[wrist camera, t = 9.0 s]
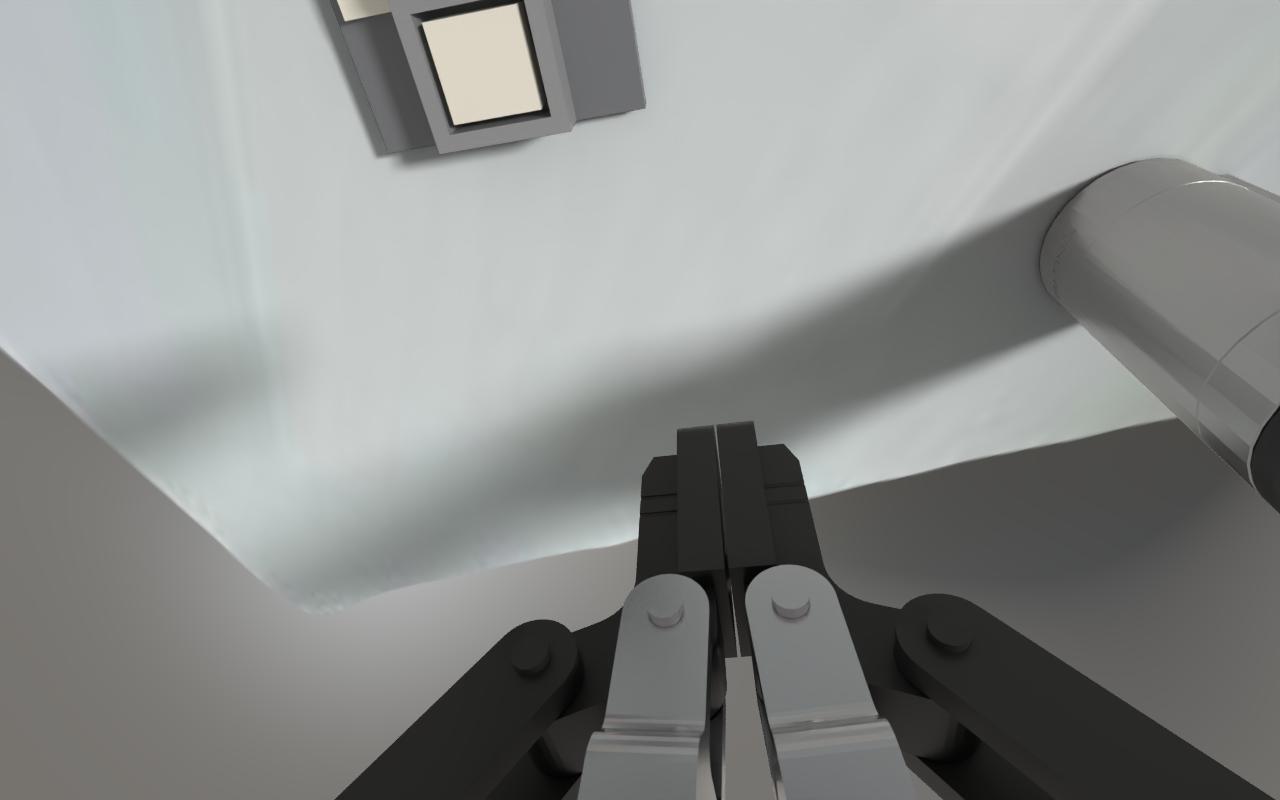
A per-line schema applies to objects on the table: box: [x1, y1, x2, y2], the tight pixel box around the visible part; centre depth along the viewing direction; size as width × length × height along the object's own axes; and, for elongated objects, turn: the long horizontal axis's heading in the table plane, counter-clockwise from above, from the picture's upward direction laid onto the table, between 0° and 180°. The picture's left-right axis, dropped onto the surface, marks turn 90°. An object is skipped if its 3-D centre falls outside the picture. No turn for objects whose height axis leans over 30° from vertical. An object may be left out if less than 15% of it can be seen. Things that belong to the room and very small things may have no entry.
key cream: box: [422, 0, 547, 125], centre depth 31 cm, size 4×4×2 cm
